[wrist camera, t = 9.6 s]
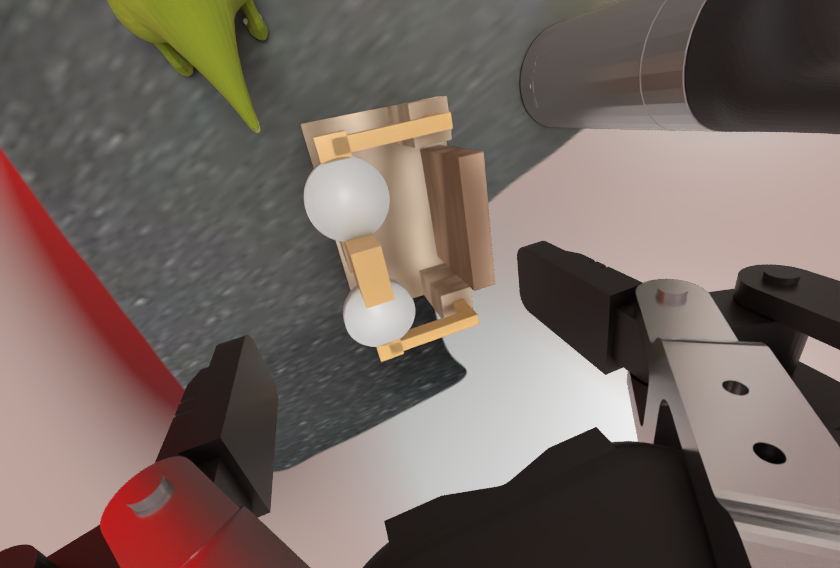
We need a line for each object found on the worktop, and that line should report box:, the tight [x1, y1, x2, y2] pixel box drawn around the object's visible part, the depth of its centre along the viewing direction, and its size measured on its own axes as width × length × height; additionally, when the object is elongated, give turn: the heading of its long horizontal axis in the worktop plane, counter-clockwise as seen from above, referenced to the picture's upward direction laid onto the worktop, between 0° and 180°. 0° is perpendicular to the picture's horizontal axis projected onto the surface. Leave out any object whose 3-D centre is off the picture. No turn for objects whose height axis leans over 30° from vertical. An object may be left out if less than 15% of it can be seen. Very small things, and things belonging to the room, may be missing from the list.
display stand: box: [300, 96, 495, 318], centre depth 32 cm, size 12×19×10 cm, turn 11°
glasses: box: [304, 112, 479, 362], centre depth 27 cm, size 11×18×6 cm, turn 12°
